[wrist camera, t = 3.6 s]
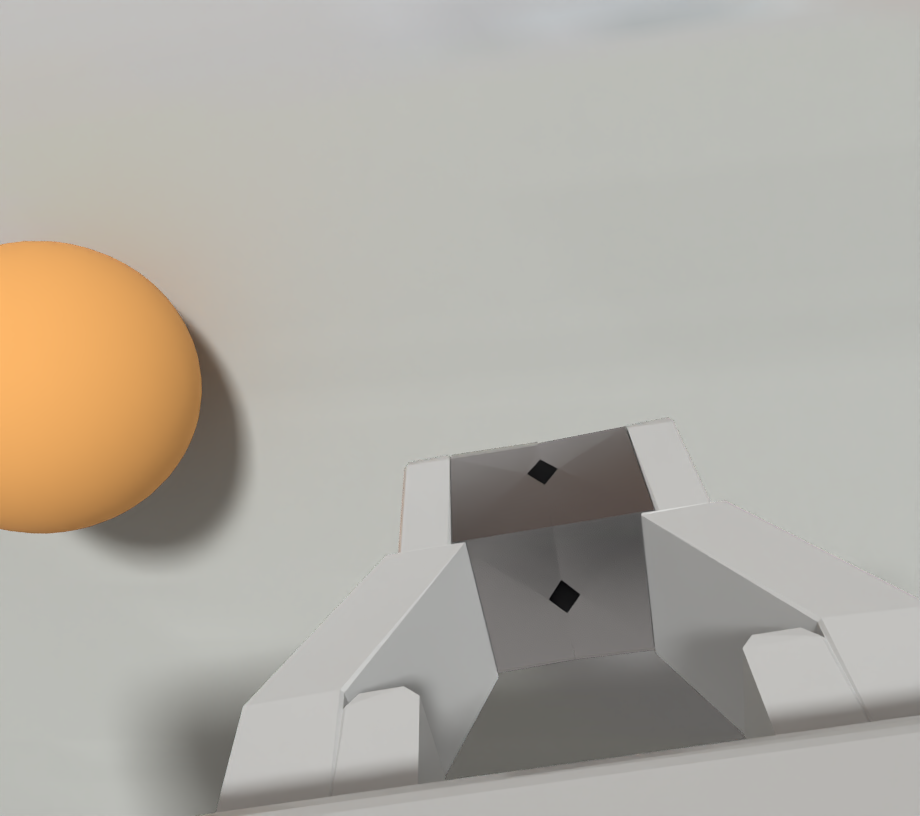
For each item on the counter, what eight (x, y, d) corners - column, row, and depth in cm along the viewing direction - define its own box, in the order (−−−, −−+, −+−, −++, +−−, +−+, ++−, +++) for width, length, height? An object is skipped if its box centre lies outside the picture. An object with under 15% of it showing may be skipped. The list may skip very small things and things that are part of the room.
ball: (178, 180, 17) (65, 282, 12) (263, 413, 19) (198, 572, 15) (-75, 230, 17) (-278, 347, 13) (41, 451, 20) (-90, 616, 15)
